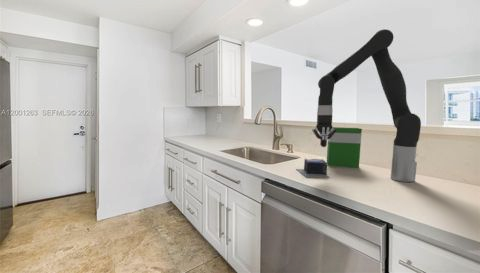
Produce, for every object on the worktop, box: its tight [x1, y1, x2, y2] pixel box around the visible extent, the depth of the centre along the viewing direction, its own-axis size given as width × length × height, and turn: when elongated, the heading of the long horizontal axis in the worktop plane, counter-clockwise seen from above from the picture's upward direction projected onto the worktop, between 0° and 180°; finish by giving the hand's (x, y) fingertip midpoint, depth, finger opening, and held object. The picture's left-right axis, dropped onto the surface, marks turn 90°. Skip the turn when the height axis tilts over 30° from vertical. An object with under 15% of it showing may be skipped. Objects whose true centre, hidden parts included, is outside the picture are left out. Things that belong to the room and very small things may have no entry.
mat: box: [296, 168, 331, 179], centre depth 121 cm, size 12×16×1 cm
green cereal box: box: [326, 126, 363, 169], centre depth 140 cm, size 18×7×24 cm, turn 76°
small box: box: [303, 158, 328, 176], centre depth 122 cm, size 11×6×10 cm
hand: (323, 146), depth 119 cm, fingers closed
